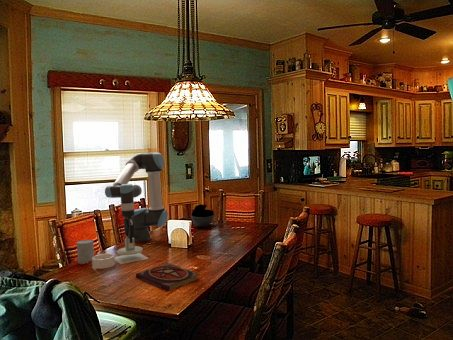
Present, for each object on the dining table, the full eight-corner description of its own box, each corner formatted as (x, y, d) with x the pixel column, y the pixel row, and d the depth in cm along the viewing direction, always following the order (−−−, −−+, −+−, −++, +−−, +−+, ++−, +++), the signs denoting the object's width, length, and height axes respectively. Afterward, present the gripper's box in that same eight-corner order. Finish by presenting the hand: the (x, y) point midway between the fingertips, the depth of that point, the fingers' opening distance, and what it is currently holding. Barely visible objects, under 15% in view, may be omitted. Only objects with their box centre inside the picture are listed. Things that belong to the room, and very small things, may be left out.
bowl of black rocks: (205, 223, 327) (205, 202, 326) (219, 226, 312) (219, 204, 311) (186, 227, 315) (186, 205, 313) (200, 230, 299) (199, 207, 298)
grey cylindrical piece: (97, 259, 229) (96, 239, 229) (88, 264, 220) (86, 243, 219) (84, 258, 232) (83, 239, 231) (74, 263, 223) (73, 243, 222)
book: (135, 279, 194) (135, 270, 194) (168, 268, 209) (168, 259, 209) (167, 293, 174) (166, 283, 174) (201, 280, 189) (200, 270, 188)
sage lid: (138, 246, 237) (137, 234, 236) (146, 251, 224) (145, 239, 224) (114, 250, 229) (113, 238, 228) (121, 256, 216) (120, 243, 216)
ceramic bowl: (111, 262, 222) (110, 252, 222) (117, 267, 212) (116, 257, 212) (90, 266, 216) (90, 256, 216) (95, 271, 206) (95, 261, 205)
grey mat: (139, 253, 238) (139, 252, 238) (148, 260, 224) (148, 258, 224) (112, 258, 229) (112, 257, 229) (120, 265, 215) (120, 264, 215)
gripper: (117, 208, 229) (120, 245, 231) (125, 212, 216) (128, 251, 218) (129, 207, 233) (131, 243, 235) (138, 210, 220) (140, 249, 222)
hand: (130, 247), depth 226 cm, fingers closed on sage lid, 3 cm apart
